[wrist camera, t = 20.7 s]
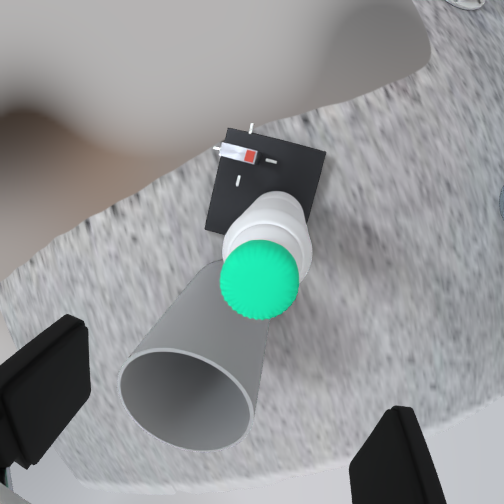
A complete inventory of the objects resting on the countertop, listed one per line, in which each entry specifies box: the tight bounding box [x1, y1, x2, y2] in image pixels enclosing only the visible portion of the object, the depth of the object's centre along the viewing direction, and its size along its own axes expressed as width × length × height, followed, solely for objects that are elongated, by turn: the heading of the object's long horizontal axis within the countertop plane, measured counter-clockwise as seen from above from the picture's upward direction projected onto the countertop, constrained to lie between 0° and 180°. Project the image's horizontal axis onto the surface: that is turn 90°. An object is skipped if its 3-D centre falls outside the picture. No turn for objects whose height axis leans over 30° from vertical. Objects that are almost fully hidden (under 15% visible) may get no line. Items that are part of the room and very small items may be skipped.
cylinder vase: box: [117, 260, 270, 453], centre depth 37 cm, size 12×12×25 cm
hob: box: [205, 124, 326, 235], centre depth 43 cm, size 15×14×3 cm
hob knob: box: [219, 142, 262, 165], centre depth 38 cm, size 4×2×6 cm, turn 75°
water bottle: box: [220, 191, 312, 320], centre depth 30 cm, size 7×7×25 cm
